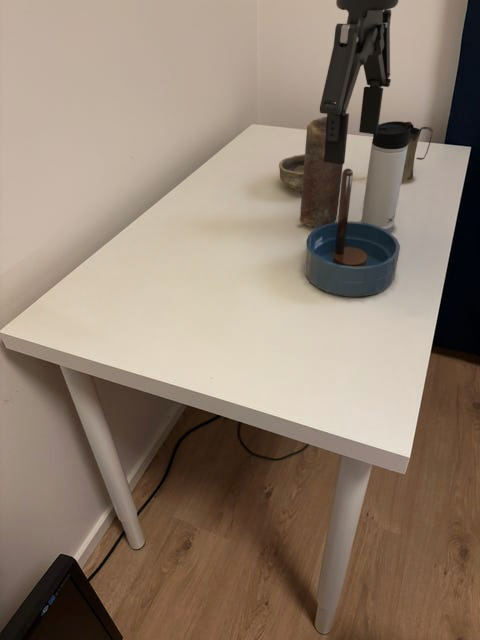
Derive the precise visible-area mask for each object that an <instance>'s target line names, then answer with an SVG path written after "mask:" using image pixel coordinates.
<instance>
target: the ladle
mask: <svg viewBox="0 0 480 640" xmlns="http://www.w3.org/2000/svg"><path fill="white" fill-rule="evenodd" d="M353 176H354V171H353V170H352V169H351V168H344V169H343V170H342V176H341V185H340V194H339V203H338V211H337V221H336V222H337V232H336V242H335V252H334V255H333V263H335V264H339V265H345V266H353V267H357V266H366V261H367V254H366V253H365V252H364V251H363V250H361V249H358V248H355V247H345V239H346V231H347V222H348V221H349V212H350V205H351V204H350V203H351V193H352V185H353V178H354V177H353Z"/></svg>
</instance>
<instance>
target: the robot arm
mask: <svg viewBox="0 0 480 640" xmlns="http://www.w3.org/2000/svg"><path fill="white" fill-rule="evenodd" d="M335 1H336V2H335V4H336V7H337V8H338V9H339V10H342V11H346V12H347V13H348V16H347V20H346V23H336V25H335V29H334V36H333V37H334V39H333V47H332V51H331V54H330V60H329V65H328V69H327V74H326V78H325V83H324V88H323V91H322V96H321V100H320V105H319V113H320V114H324V115H326V117H327V124H326V139H325V155H324V162H328V163H334V164H340V165H344V164H345V161H346V151H347V150H346V149H347V140H348V129H349V121H350V120H349V118H350V113H347V110H348V108H349V104H350V101H351V98H352V95H353V93H354V89H355V86H356V83H357V80H358V76H359V74H360V70H361V67H362V66H363V72H364V75H365V81H366V85H367V86H363V93H362V94H363V95H362V101H361V110H360V120H359V128H358V129H359V130H358V133H361V134H369V135H373V134H375V135H376V134H377V133H378V125H379V124H380V118H381V117H380V116H381V109H382V101H383V93H384V88H389V87H390V86H391V82H392V80H391V78H390V77H391V41H390V40H391V34H390V33H391V19H392V10H391V9H394V8H396V7H397V6H398V4H399V0H335Z"/></svg>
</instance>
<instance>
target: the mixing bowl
mask: <svg viewBox="0 0 480 640" xmlns="http://www.w3.org/2000/svg"><path fill="white" fill-rule="evenodd" d="M337 222H338V221H336V222H335V223H329V224H326V225H323V226H320V227H318V228H314V229H313V230H312V231H311V232H310V233H309V234H308V235H307V238H306V241H305V255H304V273H305V275H306V277H307V278H308V280H309V282H311V283H312V284H313V285H314V286H315V287H317V288H319V289H321V290H323V291H324V292H328V293H330V294H333V295H335V296H342V297H349V298H350V297H353V298H354V297H356V298H357V297H366V296H369V295H370V296H371V295H375V294H377V293H381V292H382V291H384V290H385V289H387V288H388V287H390V286H391V284H392V283H393V282H394V280H395V275H396V270H397V265H398V261H399V255H400V248H401V245H400V243H399V241H398V238H397V237H396V236H395V235H393V234H392V233H391V231H390V232H388V231H386V230H385V229H383V228H380V227H378V226H375V225H371V224H367V223H362V222H361V221H353V220H350V221H349V220H348V222H347V231H346V239H345V247H355V248H358V249H361V250H363V251H364V252H365V253H366V254H367V261H366V266H357V267H353V266H345V265H339V264H335V263H333V255H334V252H335V242H336V232H337Z"/></svg>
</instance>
